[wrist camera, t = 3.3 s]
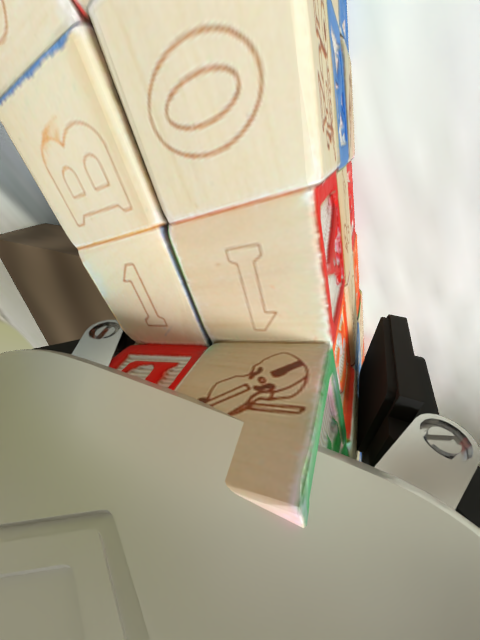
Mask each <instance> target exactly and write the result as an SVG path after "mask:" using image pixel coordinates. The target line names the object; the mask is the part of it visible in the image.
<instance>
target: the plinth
mask: <svg viewBox="0 0 480 640" xmlns="http://www.w3.org/2000/svg"><path fill="white" fill-rule="evenodd" d="M0 258H1V260H2V262H3V264H4V265H5V267H6V269H7V271H8V273H9V274H10V276H11V278H12V280H13V282H14V283H15V285H16V287H17V289H18V290H19V292H20V294H21V296H22V298H23V299H24V301H25V303H26V305H27V307H28V308H29V310H30V312H31V314H32V316H33V317H34V319H35V321H36V323H37V325H38V326H39V328H40V330H41V332H42V334H43V335H44V337H45V339H46V341H47V342H48V344H49V346H50V345H54V344H59V343H64V342H69V341H73V340H78V339H81V338H82V336H83V334H84V333H85V331H86V330H87V329H88V328H89V327H90V326H92V325H93V324H96V323H98V322H101V321H104V320H116V318H115V316H114V315H113V313H112V311H111V310H110V308H109V306H108V305H107V303H106V301H105V300H104V298H103V297H102V295H101V293H100V292H99V290H98V288H97V287H96V285H95V283H94V281H93V280H92V278H91V276H90V275H89V273H88V272H87V270H86V268H85V267H84V265H83V263H82V261H81V258H80V256H79V252H78V249H77V248H76V247H75V246H74V245H73V243H72V242H71V241H70V239H69V238H68V236H67V235H66V233H65V231H64V230H63V228H62V226H59V225H53V224H46V223H45V224H40V225H36V226H32V227H28V228H24V229H20V230H16V231H12V232H8V233H4V234H0Z"/></svg>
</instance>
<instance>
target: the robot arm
mask: <svg viewBox="0 0 480 640" xmlns="http://www.w3.org/2000/svg"><path fill="white" fill-rule="evenodd" d="M135 342H136V341H134V340H133V339H131V338H130V337H129V336H128V335H127V334H126V333H125V332H124V331H123V330H122V328H121V326H120V325H119V323H118V321H117V320H104V321H101V322H98V323H96V324H93V325H92V326H90V327H89V328H88V329H87V330H86V331H85V333H84V334H83V336H82V338H81V339H78V340H73V341H69V342H64V343H59V344H54V345H50V346H45V347H40V348H35V349H27V350H15V351H9V352H4V353H1V354H0V640H480V467H479V466H478V465H479V463H480V448H479V446H478V444H477V443H476V441H475V440H474V438H473V437H472V436H471V435H470V434H469V433H468V432H467V431H466V430H465V429H464V428H462V427H461V426H460V425H458V424H457V423H456V422H454V421H452V420H450V419H448V418H446V417H443V416H440V415H439V413H438V409H437V405H436V401H435V397H434V393H433V389H432V385H431V381H430V377H429V373H428V369H427V366H426V362H425V359H424V358H422V357H418V356H414V351H413V346H412V342H411V337H410V332H409V327H408V323H407V319H406V318H404V317H399V316H394V315H388V316H387V318H385V317H381V319H380V321H379V324H378V326H377V329H376V331H375V334H374V336H373V339H372V341H371V344H370V346H369V349H368V351H367V354H366V356H365V359H364V361H363V364H362V366H361V369H360V373H359V389H358V431H357V451H359V452H361V462H360V461H358V460H355V459H353V458H350V457H348V456H345V455H343V454H340V453H337V452H335V451H332V450H330V449H327V448H325V447H322V446H320V445H318V450H317V456H316V462H315V468H314V474H313V480H312V486H311V492H310V498H309V504H310V505H309V513H308V521H307V526H306V527H304V528H302V527H300V526H298V525H296V524H294V523H292V522H290V521H288V520H286V519H284V518H282V517H280V516H278V515H276V514H274V513H272V512H270V511H268V510H266V509H264V508H262V507H260V506H258V505H256V504H254V503H252V502H250V501H248V500H246V499H244V498H242V497H240V496H238V495H237V494H235V493H234V492H232V491H231V490H230V489H229V488H228V487H227V485H226V483H225V479H226V476H227V473H228V470H229V467H230V464H231V460H232V457H233V454H234V451H235V448H236V445H237V442H238V439H239V436H240V433H241V430H242V427H243V423H244V422H243V421H241V420H239V419H237V418H235V417H233V416H231V415H229V414H227V413H224V412H222V411H220V410H218V409H216V408H214V407H212V406H210V405H208V404H206V403H203V402H201V401H199V400H197V399H195V398H193V397H190V396H187V395H185V394H182V393H179V392H177V391H174V390H171V389H169V388H166V387H163V386H161V385H158V384H155V383H152V382H150V381H147V380H144V379H141V378H139V377H136V376H133V375H130V374H128V373H125V372H122V371H120V370H117V369H114V368H111V367H109V366H110V364H111V362H112V360H113V358H114V357H116V356H117V355H118V354H119V353H120V352H121V351H123V350H124V349H126V348H127V347H129V346H130V345H134V344H135Z"/></svg>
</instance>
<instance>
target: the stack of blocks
mask: <svg viewBox="0 0 480 640" xmlns="http://www.w3.org/2000/svg"><path fill="white" fill-rule="evenodd" d="M0 121H1V123H2V124H3V126H4V127H5V129H6V131H7V133H8V135H9V137H10V138H11V140H12V142H13V143H14V145H15V147H16V149H17V150H18V152H19V154H20V155H21V157H22V159H23V161H24V162H25V164H26V166H27V167H28V169H29V171H30V173H31V174H32V176H33V178H34V179H35V181H36V183H37V185H38V186H39V188H40V190H41V192H42V193H43V195H44V197H45V198H46V200H47V202H48V204H49V205H50V207H51V209H52V211H53V212H54V214H55V216H56V217H57V219H58V221H59V223H60V224H61V226H62V228H63V230H64V231H65V233H66V235H67V236H68V238H69V239H70V241H71V242H72V243H73V245H74V246H75V247H76V248H77V249H78V252H79V256H80V258H81V261H82V263H83V265H84V267H85V268H86V270H87V272H88V273H89V275H90V276H91V278H92V280H93V281H94V283H95V285H96V287H97V288H98V290H99V292H100V293H101V295H102V297H103V298H104V300H105V301H106V303H107V305H108V306H109V308H110V310H111V311H112V313H113V315H114V316H115V318H116V320H117V321H118V323H119V325H120V326H121V328H122V330H123V331H124V332H125V333H126V334H127V335H128V336H129V337H130V338H131V339H133V340H134V341H136V342H135V344H134V345H130V346H129V347H127V348H126V349H124V350H123V351H121V352H120V353H119V354H118V355H117V356H116V357H114V358H113V360H112V362H111V364H110V366H109V367H111V368H114V369H117V370H120V371H122V372H125V373H128V374H130V375H133V376H136V377H139V378H141V379H144V380H147V381H150V382H152V383H155V384H158V385H161V386H163V387H166V388H169V389H171V390H174V391H177V392H179V393H182V394H185V395H187V396H190V397H193V398H195V399H197V400H199V401H201V402H203V403H206V404H208V405H210V406H212V407H214V408H216V409H218V410H220V411H222V412H224V413H227V414H229V415H231V416H233V417H235V418H237V419H239V420H241V421H243V422H244V423H243V427H242V430H241V433H240V436H239V439H238V442H237V445H236V448H235V451H234V454H233V457H232V460H231V464H230V467H229V470H228V473H227V476H226V479H225V483H226V485H227V487H228V488H229V489H230V490H231V491H232V492H234V493H235V494H237V495H238V496H240V497H242V498H244V499H246V500H248V501H250V502H252V503H254V504H256V505H258V506H260V507H262V508H264V509H266V510H268V511H270V512H272V513H274V514H276V515H278V516H280V517H282V518H284V519H286V520H288V521H290V522H292V523H294V524H296V525H298V526H300V527H302V528H304V527H306V526H307V521H308V513H309V505H310V504H309V498H310V492H311V486H312V480H313V474H314V468H315V462H316V456H317V450H318V445H320V446H322V447H325V448H327V449H330V450H332V451H335V452H337V453H340V454H343V455H345V456H348V457H350V458H353V459H355V460H358V461H360V462H361V452H359V451H357V431H358V389H359V373H360V369H361V366H362V364H363V361H364V340H363V306H362V291H361V290H360V289H359V273H358V254H357V234H356V232H355V219H354V199H353V180H352V163H351V160H352V159H353V158H354V155H355V146H354V122H353V98H352V75H351V61H350V57H349V48H348V24H347V2H346V0H0Z"/></svg>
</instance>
